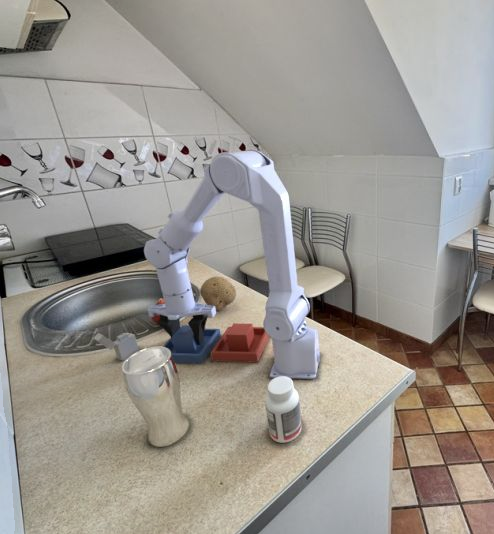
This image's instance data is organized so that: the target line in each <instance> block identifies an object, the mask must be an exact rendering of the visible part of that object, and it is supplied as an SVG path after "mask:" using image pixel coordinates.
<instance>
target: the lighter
mask: <svg viewBox="0 0 494 534" xmlns="http://www.w3.org/2000/svg"><path fill="white" fill-rule="evenodd" d="M116 338H117V339H116V340H114V341H112V340H111V339H109V338H108V337H107V336H105V335H104V334H101V333H99V332H98V333H97V334H96V335H95V336H94V337H93V338H92V339H93V340H94V341H96V342H98V343H99V344H100V345H102V346H104V347H105V348H107V349H108V350H110V351H111V350H113V349H114V352H115V355H116V357H117V360H119V361H125V360H126V359H127V358H128V357H130V356H131V355H132V354H134V353H136V352H138V351H140V347H139V345H138V341H137V338H136V335H135V334H134V333H132V332H130V333H129V332H122V333H121V334H119V335H117V336H116Z"/></svg>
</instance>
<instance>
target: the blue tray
mask: <svg viewBox="0 0 494 534" xmlns="http://www.w3.org/2000/svg"><path fill="white" fill-rule="evenodd" d="M221 337H222V335H221V328H205V330H204V341H205V342H204V343H203V344H202V346H201V347H200V349H199V350H198V351H197V353H196V354H189V353H176V350H175V347H174V343H173V340H172V338H171V337H169V339H167V341H166V342H165V343H164V344H163V345H162V347H166V348H168V349H169V350H170V351H171V354H172V357H173V359H174V362H175V364H200V365H201V364H203V363H204V362H205V360H206V359H207V358H208V356H209V355H210V354H211V352H212V350H213V349H214V347H215V346H216V344H217V343H218V341H219V340H220V338H221Z"/></svg>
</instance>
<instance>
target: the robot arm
mask: <svg viewBox="0 0 494 534" xmlns="http://www.w3.org/2000/svg"><path fill="white" fill-rule="evenodd" d="M274 163H275V162H274V161H273V160H272V159H271V158H269V157H268V156H267V155H266V154H264V153H263V152H261V151H260V150H257V149H253V148H251V149H247V150H242V151H233V152H227V151H226V152H225V151H223V152H220V153H218V154H215V156H214V157H213V158H212V160H211V161H210V164H208V165H207V166H206V167H205V168H204V175H203V178H202V179H201V181H200V183H198V186H197V188H196V189H195V190H194V193H193V194H192V196H191V198H189V199H190V200H189V201H188V203H187V204H186V206H185V208H182V209H181V208H180V209H176V210H174V211H171V212H169V214H168V215H167V218H168V221H167V222H166V224H165V225H164V227H163V228H160V229H159V231H158V232H157V234H158V236H157V237H156V238H155V239H154V238H153V239H149V240H147V241H145V245H144V247H143V254H144V257H145V259H146V261H147V262H148V263H149V264H150V265H151V266H153V267H154V268H155V271H156V275H157V279H158V283H159V288H160V290H161V294H162V297H163V298H162V299H164V302H165V304H161V305H155V304H152V305H151V306H149V308H147V309H146V310H147V314H148V316H149V317H150V318H151V317H154V316H155V315H159V316H160V319H159V320H158V321H157V324H158V325H157V324H156V325H157V326H159V327H160V328H161V329H162V330H164V331H165V332H166V333H167V334H168V336H169V338H172V336H173V335H174V334H175V332H176V331H177V330H178V329H179V328H180V327H181V321H180V318H186V317H192V318H191V319H190V320H189V321H188V322H187V325H189V326H190V327H191V329H192V331H193V334H194V337H195V341H196V343H197V345H201V343H202V342H203V341H204V330H205V329H206V324H207V321H208V319H213V318H214V317H215V316H216V315H217V311H216V309H215V306H209V305H207V304H204V303H199V302H196V301H195V298H194V293H193V288H192V284H191V279H190V275H189V270H188V266H187V265H188V264H189V260H188V256H189V254H190V253H191V251H190V250H191V247H190V246H192V244H193V242H194V241H195V240H196V238H198V236H199V235H200V234H201V232H202V231H203V229H204V223H203V219H204V217H206V216H207V214H208V213H209V212H210V211H211V210H212V208H214V206H215V205H216V204H217V202H218V201H219V200H221V198H222V197H223V195H225V194H227V195H230V196H231V197H235V198H237V199H240V200H242V201H245V202H247V203H249V204H250V205H251V206H253V207H254V208H255V209H256V210H257V211H258V217H259V223H260V230H261V240H262V246H263V252H264V253H263V254H264V261H265V268H266V276H267V282H268V290H269V292H268V296H267V299H266V303H265V316H264V319H263V322H262V327H264V330H265V332H266V333H267V334H268V335H269V338H270V339H271V342H272V351H273V359H274V362H273V365H272V367H271V370H270V373H269V378H272V379H274V378H276V377H280V376H286V377H289V378H290V379H307V380H310V379H311V380H314V379H316V378H317V373H318V366H319V363H320V357H321V352H320V342H319V341H320V339H319V330H318V329H315V328H312V327H309V326H307V322H306V317H307V316H308V315H309V313H310V310H311V304H310V302H309V300H308V298H307V296H306V294H305V288H304V287H303V286H300V285H298V275H297V274H298V273H297V266H296V265H297V263H296V255H295V254H296V253H295V246H294V235H293V225H292V215H291V206H290V205H291V204H290V196H289V193H288V191H287V189H286V186H284V184H283V182H282V181H281V179H280V177H279V176H278V173H277V171H276V170H275V165H274ZM149 317H148V318H149ZM172 340H173V339H172Z"/></svg>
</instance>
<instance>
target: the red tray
mask: <svg viewBox="0 0 494 534" xmlns="http://www.w3.org/2000/svg"><path fill="white" fill-rule="evenodd" d="M230 328H231V326H228V327H227V328H226V330H225V331H224V333H223V334H222V335H221V337H220V338H219V340H218V341H217V343H216V344H215V346H214V347H213V349H212V350H211V352H210V355H211V360H212V362H240V363H241V362H246V363H247V362H248V363H258V362H259V360H260V358H261V356H262V353H263V351H264V349H265V347H266V344H267V342H268V340H269V338H270V336H269V335H268V334H267V333H266V332H265V330H264V326H253V331H254V337H255V341H254V343H253V345H252V346H251V348H250V350H249V352H234V351H229V348H228V342H227V337H226V334H227V333H228V331H229V330H230Z"/></svg>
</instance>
